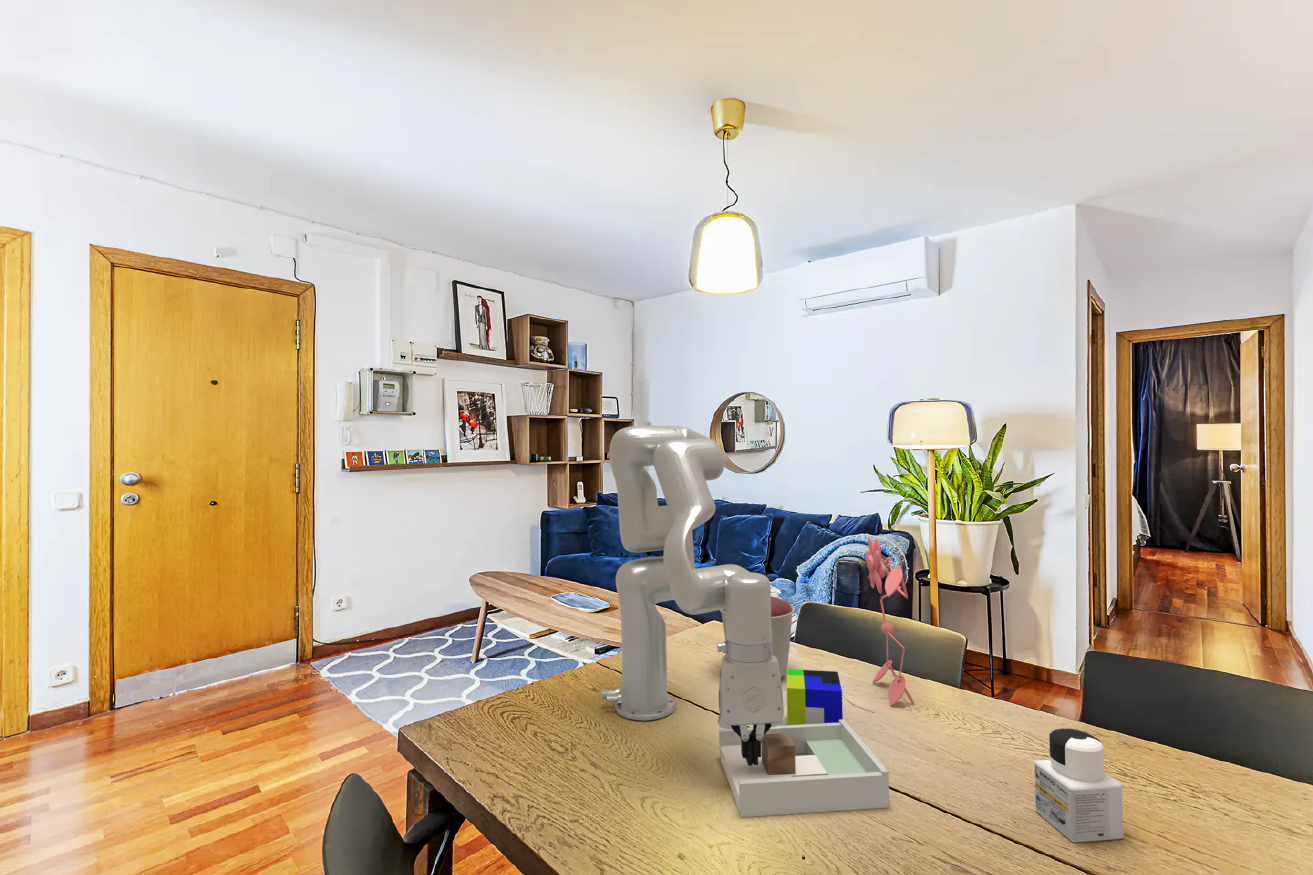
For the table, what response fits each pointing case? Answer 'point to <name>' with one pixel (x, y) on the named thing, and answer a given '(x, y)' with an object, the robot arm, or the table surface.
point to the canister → (778, 630)
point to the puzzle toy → (813, 697)
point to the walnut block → (778, 754)
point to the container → (1078, 789)
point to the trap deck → (808, 773)
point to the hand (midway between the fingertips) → (751, 761)
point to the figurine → (887, 628)
